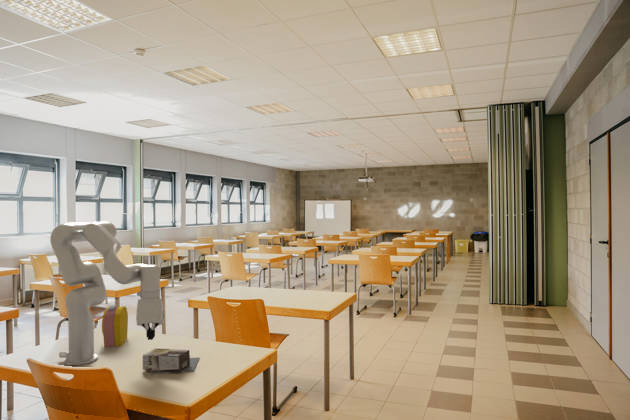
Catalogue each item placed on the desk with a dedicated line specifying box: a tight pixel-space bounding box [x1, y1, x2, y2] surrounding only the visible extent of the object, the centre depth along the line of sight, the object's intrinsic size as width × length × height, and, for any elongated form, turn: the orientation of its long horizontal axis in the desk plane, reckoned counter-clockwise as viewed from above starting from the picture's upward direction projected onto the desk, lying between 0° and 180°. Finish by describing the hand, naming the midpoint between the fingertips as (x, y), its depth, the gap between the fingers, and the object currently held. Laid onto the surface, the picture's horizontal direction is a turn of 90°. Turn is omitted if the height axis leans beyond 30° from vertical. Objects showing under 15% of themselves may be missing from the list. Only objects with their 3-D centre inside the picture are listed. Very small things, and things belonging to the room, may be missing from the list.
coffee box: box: [142, 348, 191, 373], centre depth 171 cm, size 9×6×16 cm
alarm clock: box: [101, 304, 129, 348], centre depth 206 cm, size 15×8×18 cm, turn 10°
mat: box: [149, 357, 200, 375], centre depth 174 cm, size 17×15×1 cm
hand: (150, 338), depth 173 cm, fingers closed
